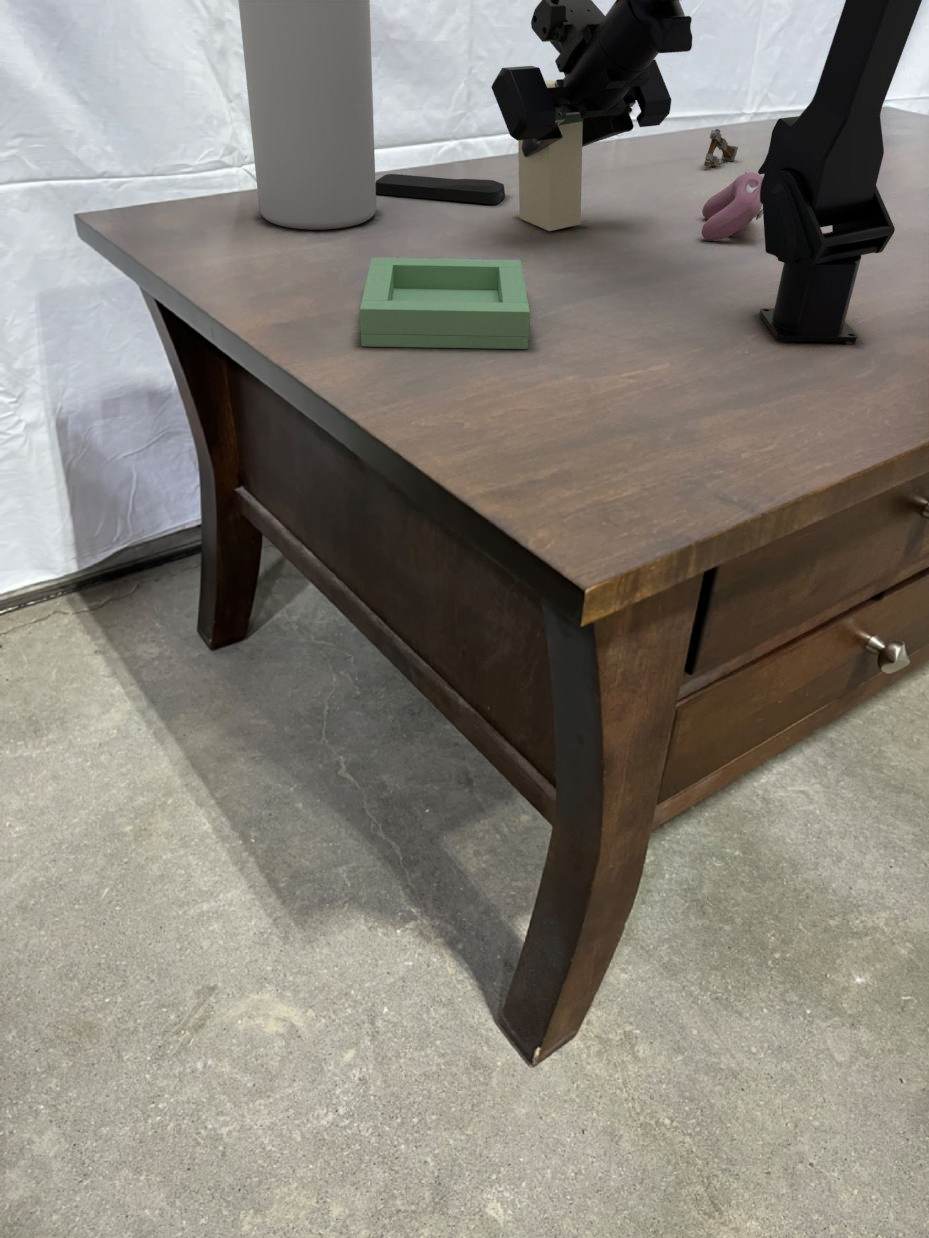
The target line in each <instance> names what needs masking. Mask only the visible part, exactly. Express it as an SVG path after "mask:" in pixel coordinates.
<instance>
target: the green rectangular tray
mask: <svg viewBox="0 0 929 1238" xmlns="http://www.w3.org/2000/svg"><path fill="white" fill-rule="evenodd" d="M525 281H526V280H525V277H524V270H523V264H522V260H521V259H484V258H483V259H480V258H478V259H477V258H475V259H474V258H432V257H431V258H423V257H378V256H377V257H375V256H374V257H373V256H372V257H371V259H370V263H369V266H368V272H367V275H366V280H365V285H364V289H363V294H362V297H361V303H360V306H359V320H360V321H359V322H360V323H359V324H360V344H361V345H360V346H361V347H368V348H369V347H372V348H373V347H374V348H375V347H376V348H377V347H378V348H379V347H380V348H383V347H384V348H428V349H429V348H431V349H433V348H434V349H438V348H439V349H487V350H491V349H492V350H493V349H495V350H528V349H529V335H530V319H531V318H530V317H531V311H530V305H529V299H528V293H527V287H526V282H525Z"/></svg>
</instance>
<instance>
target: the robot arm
mask: <svg viewBox="0 0 929 1238" xmlns="http://www.w3.org/2000/svg"><path fill="white" fill-rule="evenodd" d="M922 1H923V0H845V1H844V4H843V7H842V11H841V13H840V16H839V20H838V22H837V25H836V29H835V31H834V35H833V38H832V41H831V43H830V47H829V49H828V52H827V56H826V59H825V61H824V65H823V68H822V71H821V74H820V78H819V81H818V83H817V86H816V89H815V93H814V95H813V97H812V99H811V101H810V103H809V104H808V105H807V106H806V108H805V109H804V110H803V111H802V112H801V114H799V116H797V115H796V116H789V117H788V116H787V117H780V118H778V119H777V121H776V122H775V125H774V126H773V128H772V131H771V135H770V142H769V147H768V151H767V154H766V156H765V159H764V161H763V163H762V164H761V166H760V167H759V169H758V170H757V174H758V175H763V176H762V177H763V179H762V183H761V188H760V202H761V203H762V209H763V215H762V217H763V235H764V247H765V249H764V250H765V253H766V254H769V255H772V256H774V257H775V258H776V259H777V261H778V262H781V263H783V265H782V271H781V275H780V280H779V285H778V288H777V289H778V290H777V294H776V299H775V303H774V308H773V307H772V308H771V307H767V308H766V307H762V308H760V309H759V317H760V318H761V319H762V320H763V322H764V324H765V325H766V326H767V327H768V329H769V330H770V332H771V334H772V335H773V336H774V338H775V339H776V340H777V341H781V342H814V343H815V342H817V343H818V342H819V343H820V342H822V343H823V342H824V343H825V342H826V343H827V342H828V343H856V342H857V341H858V334H857V333H856V331H855V330H854V329H853V328H852V327H851V326H850V325H849V324H848V323H847V322H846V319H847V315H848V311H849V308H850V303H851V300H852V295H853V292H854V288H855V283H856V279H857V276H858V272H859V268H860V264H861V260H862V256H865V255H869V254H870V255H871V254H880V253H883V252H884V250H885V249H886V247H887V245H888V243H889V242H890V240H891V238H892V237H893V235H894V233H895V231H896V230H895V225H894V223H893V221H892V219H891V216H890V214H889V212H888V209H887V207H886V205H885V202H884V200H883V197H882V196H881V193H880V191H879V189H878V186H877V183H878V179H879V175H880V171H881V168H882V167H881V166H882V162H883V160H884V159H883V158H884V155H885V149H884V148H885V147H884V139H883V131H882V130H883V129H882V120H881V112H882V109H883V106H884V103H885V100H886V97H887V95H888V92H889V89H890V87H891V84H892V81H893V78H894V76H895V73H896V70H897V68H898V66H899V63H900V60H901V58H902V55H903V52H904V50H905V48H906V44H907V41H908V39H909V36H910V35H911V34H910V33H911V31H912V28H913V25H914V22H915V21H916V17H917V15H918V12H919V10H920V7H921V4H922ZM692 21H693V18H692V17H691V16H690V15H685V12H684V9H683V7H682V4H681V2H680V0H615V1H614V2H613V4H612V5H611V7H610V8H609V10H608V11H607V13H606V14H604V13H603V12H602V10H601V9H600V8H599V7H598V6H597V5H596V4H595V3H594V1H593V0H541V1H540V2H539V3H538V4H537V6H536V7H535V9H534V11H533V13H532V17H531V21H530V26H531V30H532V32H533V33H535V35H536V36H537V37H538V39H540V41H541V42H542V43H546V42H547V43H550V44H551V45H552V47H554V49H555V50H556V51H557V53H558V56H557V58H556V59H555V60H554V63H555V65H556V67H557V70H558V72H559V73H563V76H564V78H561V79H556V80H554V81H555V83H554V84H555V87H553V88H547V86H546V83H545V81H546V80H545V79H544V78H545V77H544V76H543V74H542V73H543V72H542V71H541V68H540V67H538V66H533V65H521V66H507V67H502V68H501V69H500V71H499V72H498V74H497V75H496V77H495V79H494V81H492V84H491V87H490V88H491V89H492V93H493V96H494V98H495V101H496V103H497V106H498V108H499V110H500V113H501V116H502V118H503V121H504V123H505V126H506V128H507V131H508V133H509V136H510V137H511V138H513V139H514V140H515V141H517V142H518V141H519V140H523V142H522V147H521V148H522V152H523V154H524V157H529V156H531V155H533V154H535V153H537V152H539V151H540V150H542V149H544V148H546V147H547V146H549V145H551V144H553V143H554V142H556V141H558V140H560V139H561V138H562V134H561V131H560V129H559V126H558V125H559V124H560V123H561V122H563V121H564V120H565V118H566V115H573V114H580V115H581V118H584V119H583V131H582V148H584V147H587V146H590V145H592V144H594V143H595V144H596V143H598V142H600V141H603V140H606V139H608V138H612V137H616V136H619V135H620V134H624V133H629V132H631V131H632V130H633V129H634V127H635V125H634V122H633V120H632V117H631V115H630V114H631V113H632V112H633V107H634V105H635V104H637V105H638V107H639V110H640V112H639V113H638V115H636V117H635V119H636V121H637V122H636V123H637V124H638V127H639V128H646V127H648V128H649V127H657V126H660V125H661V124H662V122H663V121H664V120H665V119H666V118H667V117H668V116H669V115H670V114H671V113H670V112H671V107H672V97H671V95H670V93H669V92H670V91H669V90H668V87H667V85H666V82H665V80H664V77H663V75H662V73H661V70H660V67H659V65H658V62H657V60H656V59H655V58H656V57H657V56H658V55H659V54H672V53H686V52H687V53H688V52H690V51H692V48H693V33H692V28H691V27H692ZM829 226H831V227H832V231H827V232H823V230H822V228H826V227H829Z"/></svg>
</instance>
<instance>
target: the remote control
mask: <svg viewBox="0 0 929 1238" xmlns="http://www.w3.org/2000/svg"><path fill="white" fill-rule="evenodd" d="M375 185H376V195H384V196H385V195H387V196H397V197H406V198H407V197H408V198H419V199H430V200H441V201H450V202H451V201H452V202H463V203H474V204H485V205H496V204H499V203H500V202H501V201H502V200H503V199H504V198H505V197H506V192H505V184H504V183H501V182H499V181H498V180H497V181H496V180H493V179H481V178H479V179H478V178H477V179H476V178H446V177H435V176H434V177H433V176H421V175H411V174H410V175H409V174H398V173H387V174H384V175H383V176H381V177H379V178H378V179H377V180H376V179H375Z"/></svg>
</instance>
